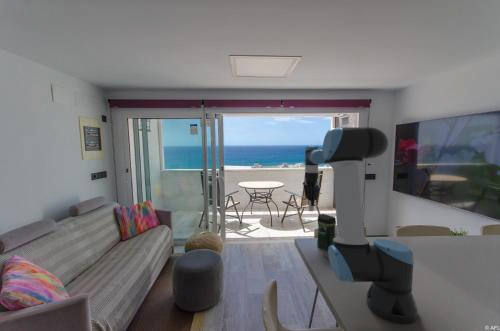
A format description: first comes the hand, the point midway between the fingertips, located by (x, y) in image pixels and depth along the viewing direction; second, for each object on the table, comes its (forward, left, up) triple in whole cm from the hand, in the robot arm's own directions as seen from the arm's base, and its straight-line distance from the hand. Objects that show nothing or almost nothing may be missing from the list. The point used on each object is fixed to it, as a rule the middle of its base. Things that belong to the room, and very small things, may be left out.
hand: (311, 210), depth 137 cm
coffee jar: (0, -12, -18) cm, 22 cm away
